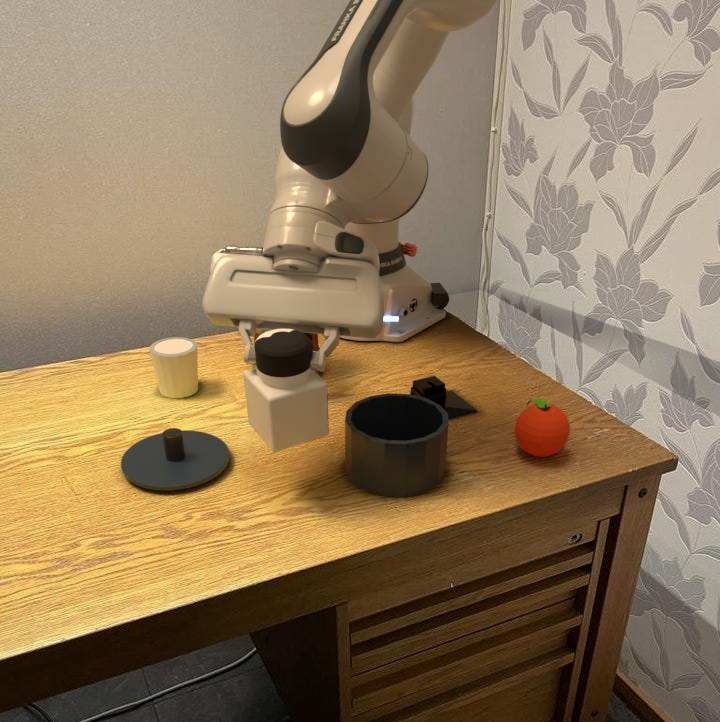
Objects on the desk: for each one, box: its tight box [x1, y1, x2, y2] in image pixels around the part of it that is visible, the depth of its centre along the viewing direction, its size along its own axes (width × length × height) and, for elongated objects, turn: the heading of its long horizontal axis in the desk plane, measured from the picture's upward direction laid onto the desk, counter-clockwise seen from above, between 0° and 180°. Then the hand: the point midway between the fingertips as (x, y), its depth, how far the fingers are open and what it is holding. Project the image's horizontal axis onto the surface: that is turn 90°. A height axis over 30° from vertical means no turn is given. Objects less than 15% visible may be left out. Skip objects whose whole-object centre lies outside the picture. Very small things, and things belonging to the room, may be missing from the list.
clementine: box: [514, 398, 571, 458], centre depth 102 cm, size 8×7×7 cm
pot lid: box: [120, 427, 230, 491], centre depth 100 cm, size 13×13×5 cm
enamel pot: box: [344, 392, 450, 498], centre depth 98 cm, size 12×12×8 cm
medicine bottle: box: [243, 329, 330, 453], centre depth 89 cm, size 7×7×12 cm
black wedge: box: [409, 375, 478, 421], centre depth 112 cm, size 12×7×5 cm, turn 117°
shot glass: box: [148, 336, 199, 399], centre depth 117 cm, size 7×7×7 cm
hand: (284, 366), depth 88 cm, fingers closed on medicine bottle, 6 cm apart
